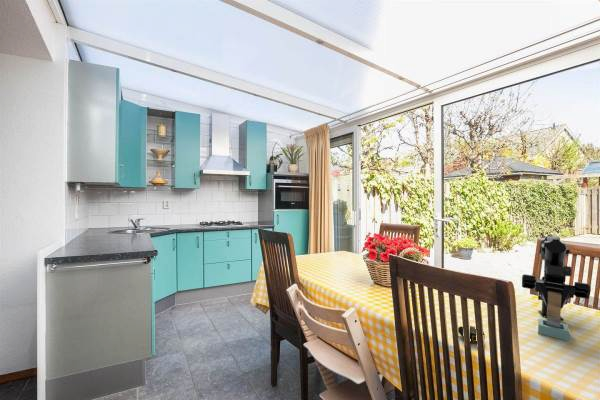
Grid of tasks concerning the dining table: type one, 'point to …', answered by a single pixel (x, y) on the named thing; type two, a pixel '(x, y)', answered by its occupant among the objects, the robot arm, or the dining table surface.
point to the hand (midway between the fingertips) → (554, 306)
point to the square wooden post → (554, 308)
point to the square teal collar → (553, 330)
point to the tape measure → (472, 333)
